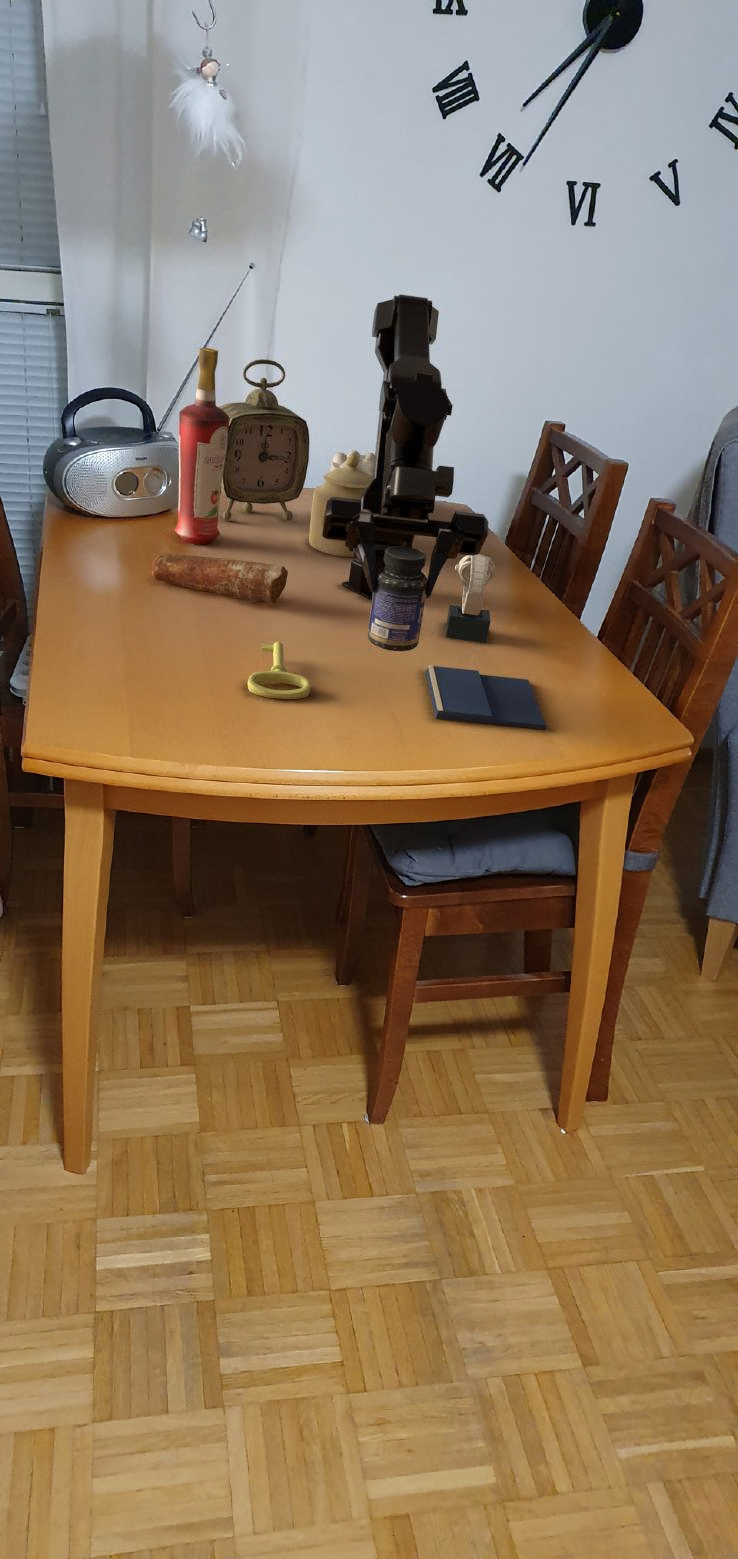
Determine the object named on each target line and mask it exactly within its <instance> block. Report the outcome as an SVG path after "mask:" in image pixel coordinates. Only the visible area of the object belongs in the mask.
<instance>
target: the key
mask: <svg viewBox="0 0 738 1559" xmlns="http://www.w3.org/2000/svg"><path fill="white" fill-rule="evenodd" d="M260 647H261V652H271V653H272V654H273V665H272V667H271V669H270V670H263V671H255V672H254V673H252V674H250V675H249V676H248V680H247V689H248V691H249V692H250V693H251V694H254V695H257V696H260V697H264V698H270V699H279V700H299V699H303V698H304V699H305V698H306V697H308V696H309V695H310V692H311V682H310V680H309V679H308V678H306V677H305V676H302V675H300V674H298V673H293V672H288V668H286V666H285V665H284V645H283V643H282V642H281V641H276V642H274V643H273V644H272V643H261V646H260ZM261 683H280V684H287V685H293V686H296V687H299V688H297V689H292V690H279V689H273V688H268V687H265V686H262V685H261Z"/></svg>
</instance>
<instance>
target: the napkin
mask: <svg viewBox="0 0 738 1559" xmlns="http://www.w3.org/2000/svg"><path fill="white" fill-rule="evenodd" d="M425 673H426V675H425V676H426V679H427V685H428V688H429V693H430V698H431V702H432V706H433V711H434V716H435V719H436V720H444V721H456V722H457V721H458V722H464V723H465V722H467V723H476V724H486V725H496V726H507V727H514V728H525V729H526V728H527V729H534V730H535V729H536V730H546V727H547V724H546V721H545V718H544V715H543V714H542V711H541V709H540V706H539V703H538V700H537V699H536V696H535V693H534V691H533V688H532V686H531V683H530V681H529V679H527V678H518V677H507V676H497V675H490V674H489V675H487V674H480V672H479V670H475V669H467V668H456V667H447V666H437V665H433V664H428V665H427V668H426V672H425Z"/></svg>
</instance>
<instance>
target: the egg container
mask: <svg viewBox="0 0 738 1559" xmlns="http://www.w3.org/2000/svg"><path fill="white" fill-rule="evenodd" d="M352 452H355V453H356V454H357V456H358V459H359V464H358V465H357V467H356V469H358V470H361V471H364V472H366V473H367V474H369V475H370V476H371V477H372V478H373V469H374V460H375V453H374V452H367V453H366V454H361V453H360V452H359V451H358V450H355V449H354V450H351V451H349V452H348V454H345V453H344V452H336V453H335V454H334V455H333V458H332V460H331V462H330V468H329V473H330V472H331V471H332V470H334V469H338V468H347V467H348V465H347V457H348V456H349V454H351V453H352Z"/></svg>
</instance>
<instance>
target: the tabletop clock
mask: <svg viewBox="0 0 738 1559" xmlns="http://www.w3.org/2000/svg"><path fill="white" fill-rule="evenodd" d="M257 365H270V366H275V367H277V368H278V369H279V370H280V372H281V375H282V376H281V379H279V380H277V381H274V382H268V379H267V378H266V377H262V378H260V382H256V381H254V380H250V378H248V376H247V372H248V370H249V369H250V368H252V367H253V366H257ZM242 377H243V379H244V381H245V382H246V383H247V384H249V385H250V386H252V387H256V389H253V390H252V391H250V392H249V393H248V394H247V396H246V398H245V400H244V401H242V402H241V401H240V402H228V403H224V404H222V405H219V406H218V407H219V408H221V409H222V410H224V411H225V412H226V413H227V415H228V416H229V417H230V420H229V429H228V438H227V447H226V455H225V463H224V470H223V477H222V486H221V494H223V495H224V497H226V498H228V504H227V506H226V510H225V509H224V510H223V511H221V514H220V517H221V519H222V520H223V521H226V522H228V521H230V520H231V518H232V512H230V511H231V510H232V507H233V506H234V503H235V502H237V503H244V504H243V506H242V509H243V511H244V512H245V513H251V512H252V511H253V509H254V506H253V504H257V505H258V504H259V505H265V504H267V505H268V504H279V505H280V507H281V508H282V511H283V514H282V518H283V519H284V520H285V521H291V520H293V518H294V514H293V512H292V511H291V510H288V509H287V505H286V503H288V502H291V501H294V500H296V499H298V498H300V495H301V494H302V491H303V489H304V485H305V482H306V479H307V478H306V477H307V472H308V468H309V460H310V431H309V426H308V422H307V420H305V419H304V418H302V416H300V415H298V414H297V413H295V412H293V411H292V410H291V409H289V408H287V407H286V406H284V405H281V404H279V401H278V397H277V396H276V395H275V393H274V392H272V391H271V390H270V389H271V388H275V387H277V386H279V385H281V384H282V383H283V382H284V380H285V379H286V371H285V368H284V367H283V366H282V364H280V363H278V362H277V361H275V360H272V359H254V360H252V361H250V362H249V363H247V364H246V365H245V367H244V368H243V371H242Z"/></svg>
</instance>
